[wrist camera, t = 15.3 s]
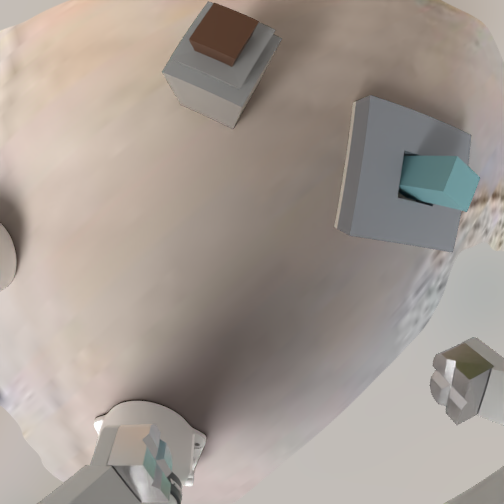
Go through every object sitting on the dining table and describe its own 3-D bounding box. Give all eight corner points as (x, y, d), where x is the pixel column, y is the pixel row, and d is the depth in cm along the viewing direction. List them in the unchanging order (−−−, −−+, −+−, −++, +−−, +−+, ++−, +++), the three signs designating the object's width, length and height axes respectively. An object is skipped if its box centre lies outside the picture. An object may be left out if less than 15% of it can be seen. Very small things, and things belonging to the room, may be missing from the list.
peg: (406, 197, 38) (466, 211, 27) (384, 182, 37) (443, 191, 26) (418, 171, 38) (480, 177, 26) (396, 155, 37) (457, 156, 25)
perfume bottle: (233, 129, 35) (247, 94, 18) (180, 104, 34) (150, 52, 16) (259, 80, 34) (295, 14, 17) (208, 57, 32) (204, -23, 15)
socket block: (431, 243, 41) (452, 252, 37) (334, 227, 39) (349, 235, 34) (448, 136, 38) (471, 134, 33) (352, 102, 35) (370, 95, 31)
